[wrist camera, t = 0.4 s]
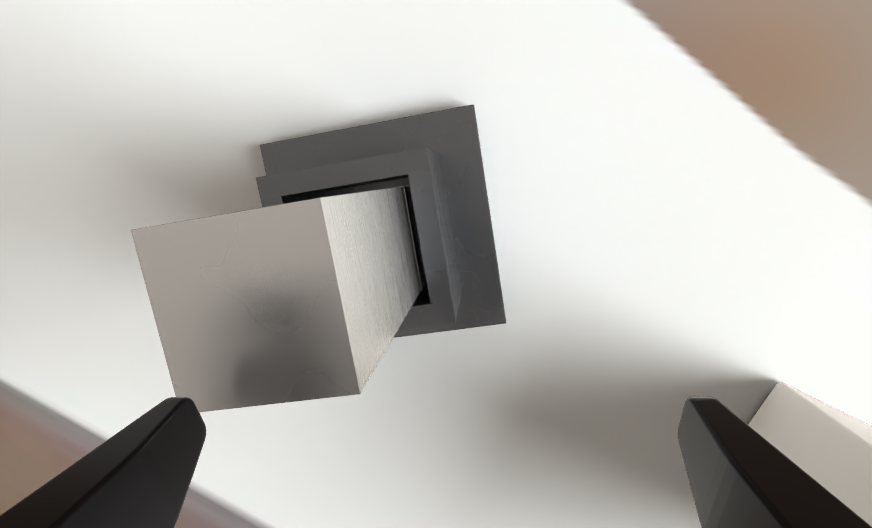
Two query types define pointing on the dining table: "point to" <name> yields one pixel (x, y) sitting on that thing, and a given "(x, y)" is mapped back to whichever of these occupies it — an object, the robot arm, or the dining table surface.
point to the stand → (432, 198)
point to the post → (282, 296)
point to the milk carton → (821, 444)
